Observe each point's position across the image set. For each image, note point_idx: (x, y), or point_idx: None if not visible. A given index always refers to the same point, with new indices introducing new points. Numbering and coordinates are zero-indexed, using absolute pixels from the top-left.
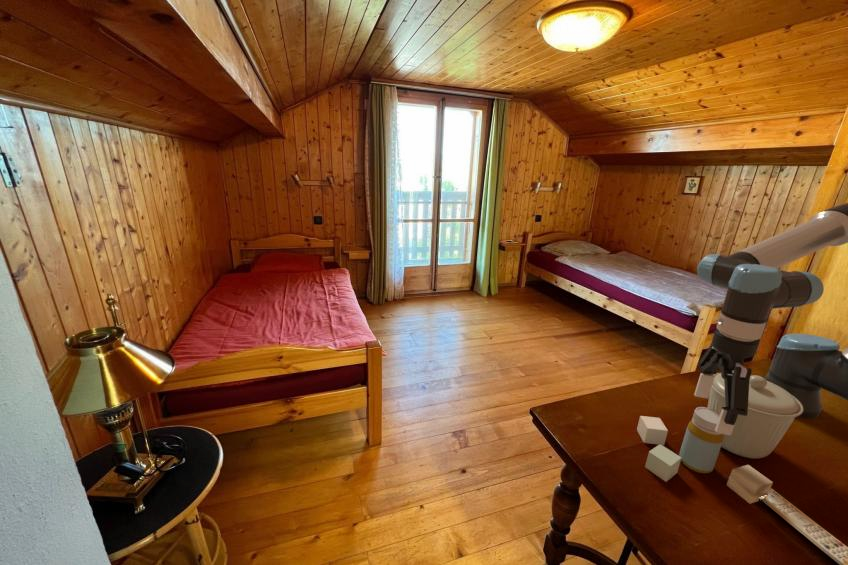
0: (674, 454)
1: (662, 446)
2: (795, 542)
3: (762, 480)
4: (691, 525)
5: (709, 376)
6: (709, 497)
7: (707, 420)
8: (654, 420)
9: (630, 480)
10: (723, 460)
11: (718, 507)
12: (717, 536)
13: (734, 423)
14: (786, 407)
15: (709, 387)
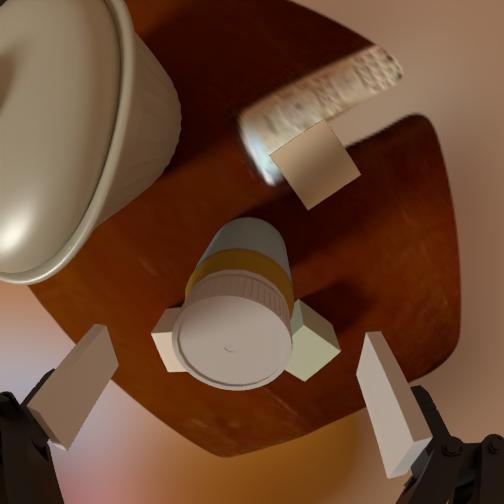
0: (297, 337)
1: None
2: (413, 130)
3: (328, 144)
4: (419, 302)
5: (51, 426)
6: (352, 252)
7: (277, 369)
8: (170, 348)
9: (342, 375)
10: (206, 176)
11: (374, 243)
12: (432, 267)
13: (427, 394)
14: (74, 10)
15: (77, 368)
